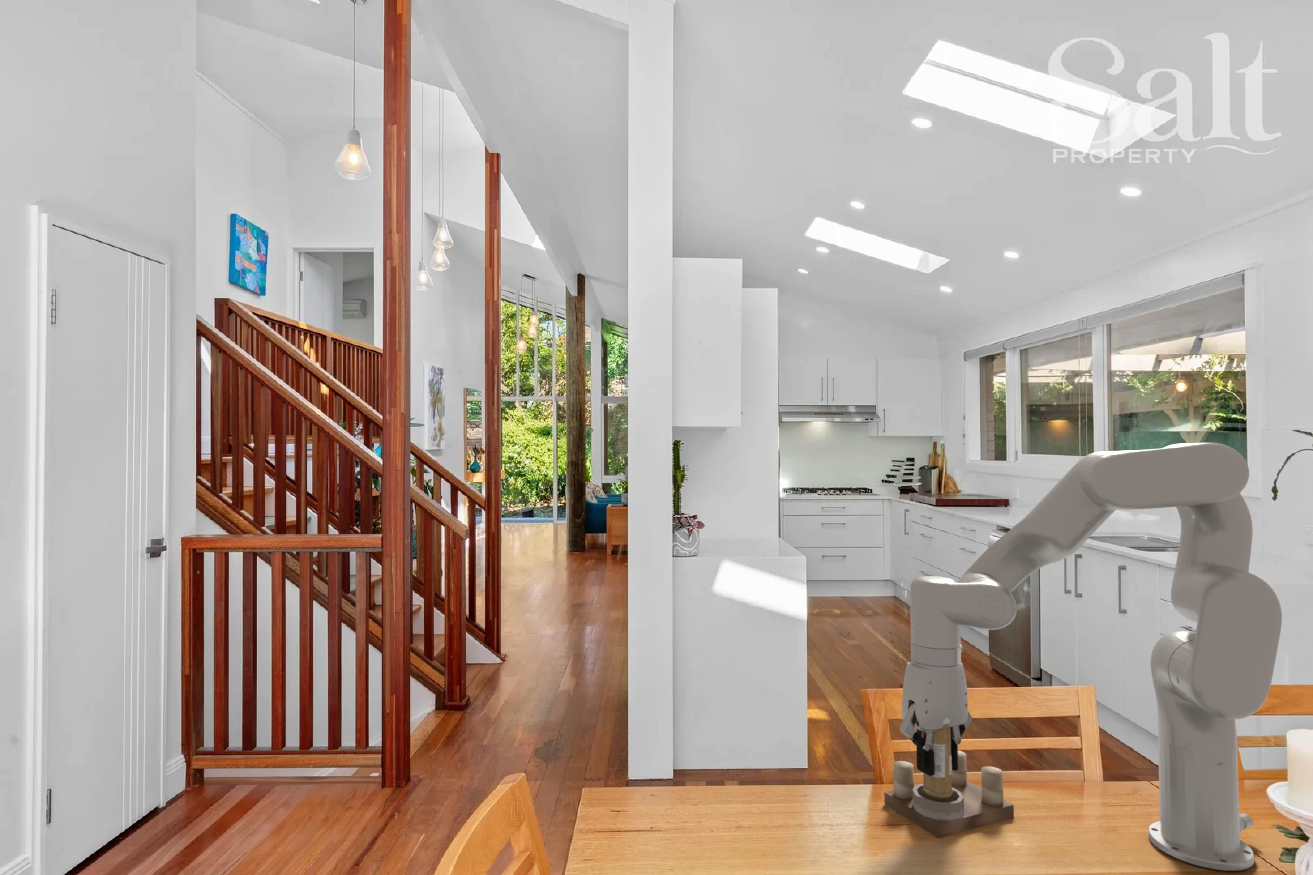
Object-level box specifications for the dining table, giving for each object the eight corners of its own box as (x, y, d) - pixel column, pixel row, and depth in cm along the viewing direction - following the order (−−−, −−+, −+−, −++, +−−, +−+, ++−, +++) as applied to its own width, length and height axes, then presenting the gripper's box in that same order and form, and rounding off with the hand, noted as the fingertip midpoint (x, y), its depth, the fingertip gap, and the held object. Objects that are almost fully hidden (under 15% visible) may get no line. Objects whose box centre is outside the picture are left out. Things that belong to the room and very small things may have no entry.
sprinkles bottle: (958, 794, 117) (957, 708, 117) (941, 801, 114) (939, 714, 115) (933, 783, 120) (932, 701, 121) (916, 790, 118) (914, 706, 118)
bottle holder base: (956, 786, 130) (956, 746, 130) (1013, 817, 118) (1012, 773, 119) (884, 804, 123) (883, 762, 123) (937, 837, 112) (937, 791, 112)
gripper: (957, 644, 125) (959, 752, 124) (878, 654, 118) (879, 769, 118) (993, 654, 118) (995, 770, 117) (911, 666, 111) (913, 788, 111)
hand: (937, 768), depth 117 cm, fingers closed on sprinkles bottle, 4 cm apart
